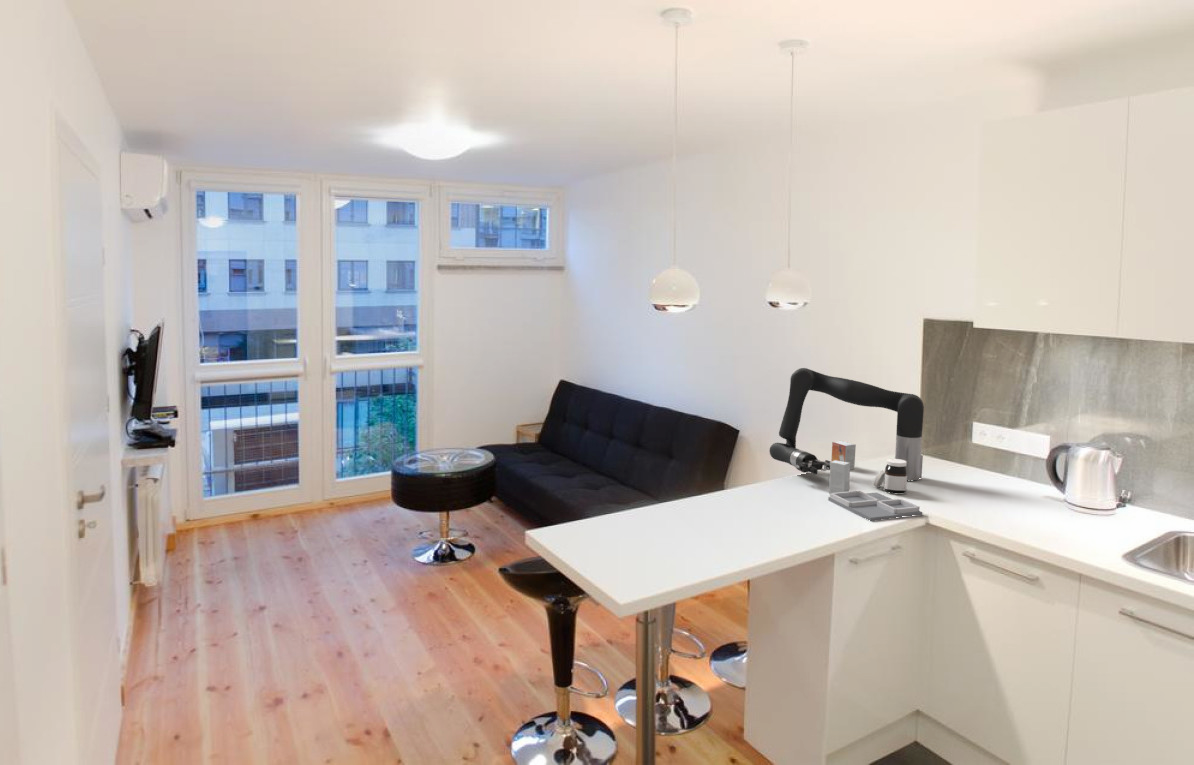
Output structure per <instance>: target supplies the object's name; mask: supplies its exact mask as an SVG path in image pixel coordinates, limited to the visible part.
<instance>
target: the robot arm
mask: <svg viewBox="0 0 1194 765" xmlns="http://www.w3.org/2000/svg"><path fill="white" fill-rule="evenodd" d="M789 380H790V382H789V383H790V384H789V394H788V399H787V403H786V407H785V411H784V414H783V416H782V420H781V424H780V427H779V430H778V436H779V437H780V438H781V439H784V440H786V441H785V443H782V442H775V443H772V444H771V445H770V447H769V455H770V457H771V458H772V459H774V460H776V461H779V462H782V463H786V464H789V465H791V466H792V467H794V468H796V470H797V471H800V472H801V473H803V474H805V473H807V474H808V473H809V474H810V473H811V474H813V475H818V472H819V471H821V472H826V471H830V462H831V461H830V460H827V459H826V460H825V461H823V460H820V459H818V457H817V455H814V454H812V453H810V452H808V451H806V450H802V449H799V448H797V447H796V446H797V433H798V430H799V427H800V423H801V417H802V412H803V411H802V410H803V407H804V403H805V400H806V397H807V395H808V393H809V391H811V392H818V393H823V394H826V395H829V396H830V397H833V398H834V399H837V400H839V401H842V402H844V403H848V404H852V405H857V406H861V407H868V408H869V407H870V408H882V409H887V410H890V411H893V412H896V413H897V415H896V436H895V453H894V454H895V456H894V459H901V460H905V461H906V462H907V463H906V468H907V480H917V481H919V480H920V479H919V478H923V476H922V475H923V462H924V461H923V460H924V458H923V457H924V455H922V440H923V439H922V438H923V429H924V412H925V411H924V410H925V407H924V402H923V400H922V399H921V397H920V396H919V395H916V394H914V393H908V392H907V393H906V392H898V391H893V390H888V389H885V388H882V387H880V386H876V385H873V384H869V383H865V382H862V381H857V380H854V379H848V378H843V377H838V376H831V375H828V374H827V375H826V374H824V373H821V372H817V371H815V370H813V369H809V368H807V367H801V368H798V369H796V370H795V371H794V372H792V374H791V376H790V379H789ZM918 479H919V480H918Z"/></svg>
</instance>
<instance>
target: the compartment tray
mask: <svg viewBox="0 0 1194 765" xmlns="http://www.w3.org/2000/svg"><path fill="white" fill-rule="evenodd" d="M827 500H828V501H830V502H831V503H834V504H835V505H837V506H839V507H840V508H843V509H846V510H847V511H849V512H851V513H853V514H855V515H857V516H859V517H861V518H862V519H865V518H866V519H865V520H867V519H868V520H867V521H869V520H870V521H869V522H876V521H875V520H878V521H882V520H881V519H887V520H890V519H889V518H896V517H902V516H912V515H922V516H923V512H922V511H920V507H921V506H919V505H917V504H914V503H913V502H909V501H907V500H905V499H903V498H891V497H888V496H886V495H884V494H881V493H879V492H875V491H874V492H867V493H865V492H863V491H861V490H851V491H850V490H849V491H848V492H838V493H832V494H829V496H828V499H827Z"/></svg>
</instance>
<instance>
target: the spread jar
mask: <svg viewBox="0 0 1194 765" xmlns="http://www.w3.org/2000/svg"><path fill="white" fill-rule="evenodd" d="M906 463H907V462H906V461H905V460H901V459H895V458H888V459H886V466H885V469H882V470H880V471H879V472H878V473H877V475H876V477H875V478H874V481H873V486H874V487H875V488H878V489H879V488H880V487H881V486H882V485H883V488H884V492H886V493H888V492H890V493H889V494H892V493H904V494H906V492H907V486H908V485H907V484H908V481H907V468H906ZM883 483H884V484H883Z"/></svg>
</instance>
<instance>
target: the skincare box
mask: <svg viewBox="0 0 1194 765" xmlns="http://www.w3.org/2000/svg"><path fill="white" fill-rule="evenodd" d="M850 473H851V469H850V463H848V462H842V461H837V460H835V461H832V462H830V470H829V482H828V483H829V484H828V487H829V488H828V494H829V495H830V494H832V493H838V492H848V491H850V478H851V477H850V476H851V475H850Z"/></svg>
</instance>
